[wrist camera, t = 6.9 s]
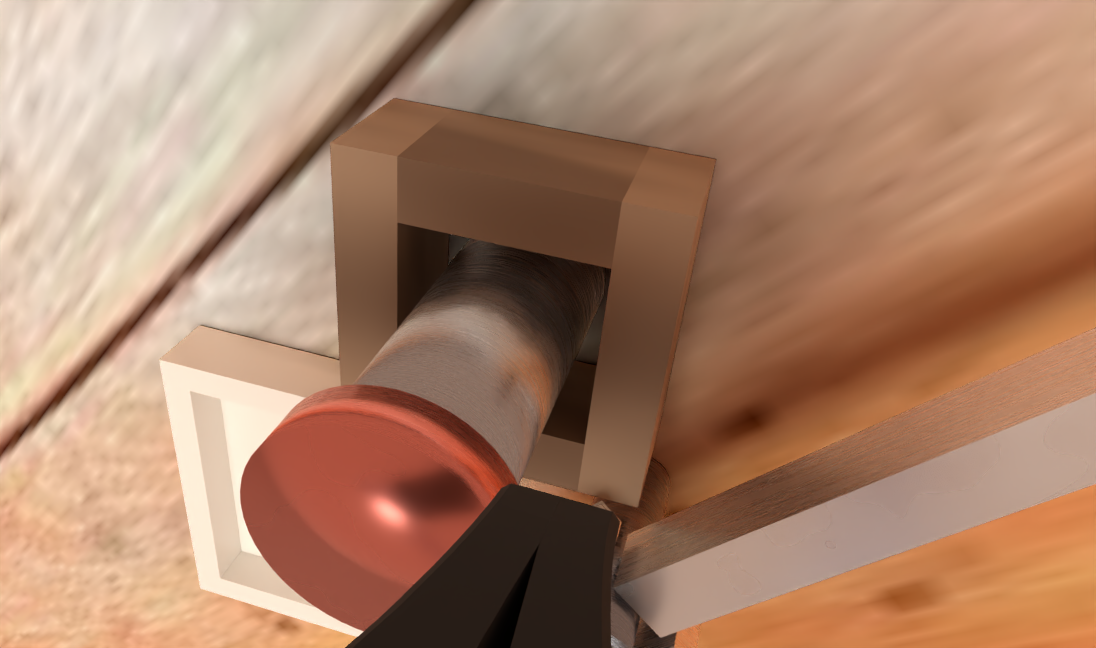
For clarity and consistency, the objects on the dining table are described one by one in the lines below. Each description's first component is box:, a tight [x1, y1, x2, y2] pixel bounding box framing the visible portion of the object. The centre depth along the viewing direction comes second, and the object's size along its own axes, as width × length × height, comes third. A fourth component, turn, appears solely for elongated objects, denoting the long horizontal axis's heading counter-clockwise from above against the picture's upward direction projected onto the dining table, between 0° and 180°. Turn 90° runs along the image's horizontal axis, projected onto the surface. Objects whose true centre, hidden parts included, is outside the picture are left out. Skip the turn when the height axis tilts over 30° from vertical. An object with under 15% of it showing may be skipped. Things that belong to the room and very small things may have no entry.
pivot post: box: [592, 458, 670, 648], centre depth 20 cm, size 3×3×7 cm
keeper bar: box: [592, 328, 1096, 648], centre depth 16 cm, size 18×4×2 cm, turn 132°
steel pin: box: [240, 238, 605, 631], centre depth 17 cm, size 4×4×9 cm
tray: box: [159, 326, 364, 637], centre depth 25 cm, size 9×9×2 cm
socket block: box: [330, 98, 716, 508], centre depth 19 cm, size 7×7×3 cm
